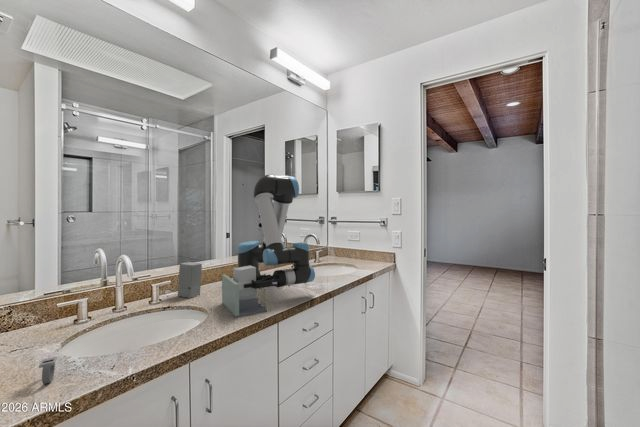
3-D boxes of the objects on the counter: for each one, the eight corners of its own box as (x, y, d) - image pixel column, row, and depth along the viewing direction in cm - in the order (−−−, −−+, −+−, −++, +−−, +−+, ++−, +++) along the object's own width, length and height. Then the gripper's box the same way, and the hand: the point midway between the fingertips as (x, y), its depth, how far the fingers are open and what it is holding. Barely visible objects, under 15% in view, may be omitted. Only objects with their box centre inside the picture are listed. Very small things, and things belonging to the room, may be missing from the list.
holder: (222, 303, 124) (222, 274, 124) (250, 298, 131) (250, 271, 131) (235, 318, 107) (235, 284, 107) (267, 311, 114) (267, 279, 114)
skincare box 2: (251, 298, 124) (250, 265, 124) (257, 301, 120) (257, 266, 120) (232, 302, 119) (232, 267, 119) (238, 305, 114) (238, 269, 114)
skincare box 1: (177, 296, 134) (177, 263, 134) (189, 292, 141) (189, 261, 141) (190, 298, 131) (190, 264, 131) (202, 294, 138) (202, 262, 138)
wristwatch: (43, 377, 69) (43, 356, 69) (58, 373, 71) (58, 353, 71) (37, 390, 64) (37, 368, 64) (53, 385, 66) (53, 364, 65)
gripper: (293, 290, 121) (239, 300, 109) (274, 281, 137) (226, 288, 125) (293, 273, 121) (239, 280, 109) (274, 266, 137) (226, 271, 125)
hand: (232, 285), depth 117 cm, fingers closed on skincare box 2, 6 cm apart
